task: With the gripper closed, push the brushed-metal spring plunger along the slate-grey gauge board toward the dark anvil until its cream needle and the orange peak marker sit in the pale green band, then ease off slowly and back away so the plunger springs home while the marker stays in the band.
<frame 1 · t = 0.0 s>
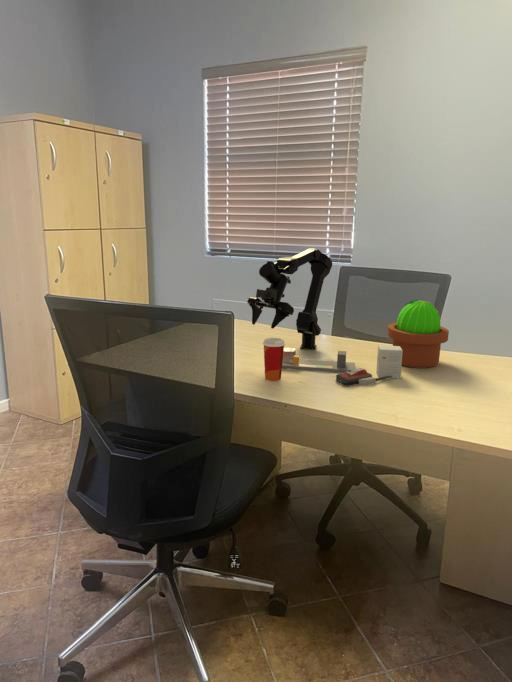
hand: (262, 326, 196), 15 cm above the table, tool tilted 35°, fingers open, 9 cm apart
peak marker: (296, 360, 194), point 3 cm above the table, slide at 0.0 cm
small box: (388, 376, 189), on the table
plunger: (287, 356, 197), point 4 cm above the table, slide at 0.0 cm
paper cup: (272, 379, 184), on the table
potted cactus: (414, 362, 206), on the table
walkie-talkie: (362, 382, 183), on the table
gauge board: (314, 366, 198), on the table
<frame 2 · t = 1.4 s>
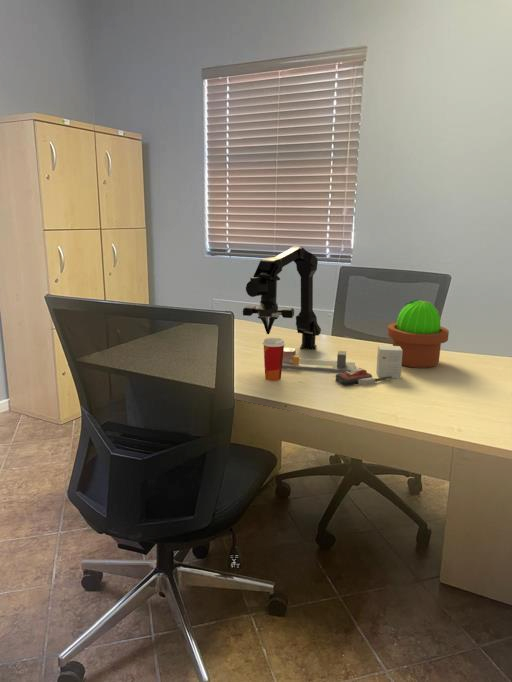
hand: (268, 334, 198), 12 cm above the table, tool pointing down, fingers closed
nothing on the table moved.
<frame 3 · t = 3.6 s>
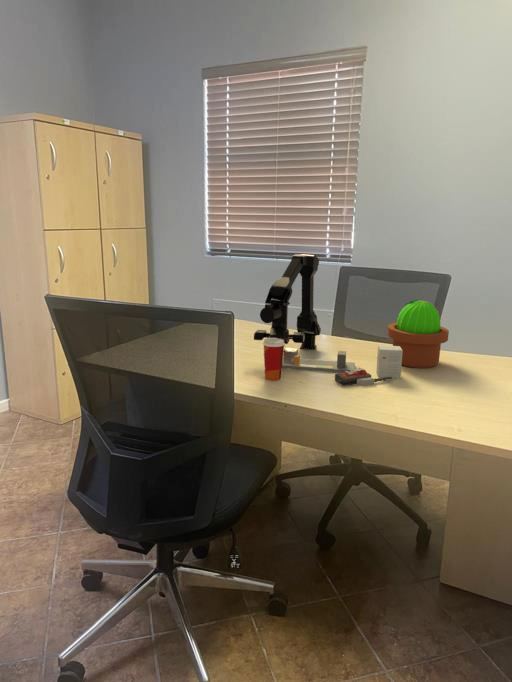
hand: (278, 357, 200), 2 cm above the table, tool pointing down, fingers closed
peak marker: (297, 360, 194), point 3 cm above the table, slide at 0.3 cm, touching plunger
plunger: (290, 356, 197), point 4 cm above the table, slide at 0.8 cm, touching gripper, peak marker
everything else where it was.
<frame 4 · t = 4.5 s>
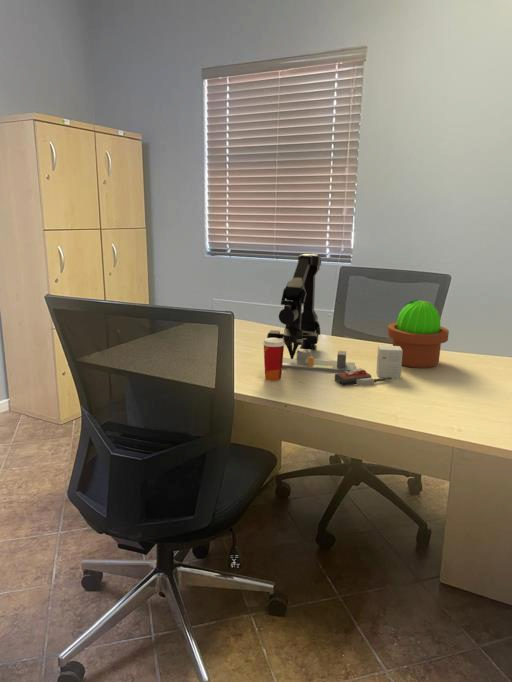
hand: (292, 358, 199), 2 cm above the table, tool pointing down, fingers closed
peak marker: (310, 361, 193), point 3 cm above the table, slide at 5.4 cm, touching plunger
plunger: (303, 357, 196), point 4 cm above the table, slide at 5.9 cm, touching gripper, peak marker
everything else where it was.
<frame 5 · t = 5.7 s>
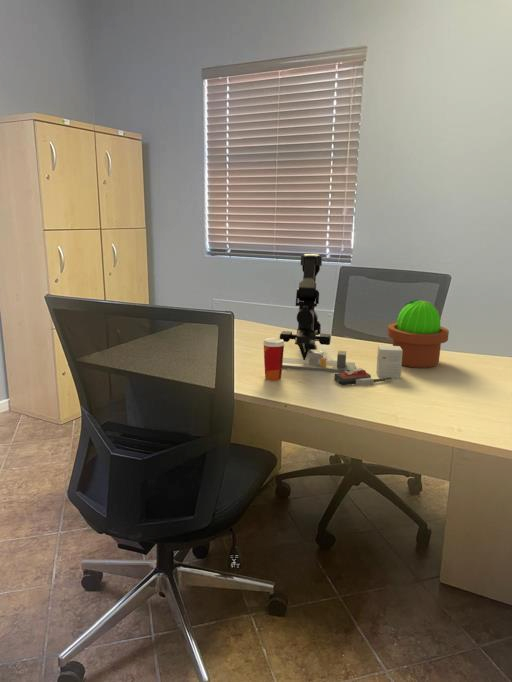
hand: (304, 359, 198), 2 cm above the table, tool pointing down, fingers closed
peak marker: (323, 361, 192), point 3 cm above the table, slide at 10.1 cm, touching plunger
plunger: (315, 358, 195), point 4 cm above the table, slide at 10.6 cm, touching gripper, peak marker
everything else where it was.
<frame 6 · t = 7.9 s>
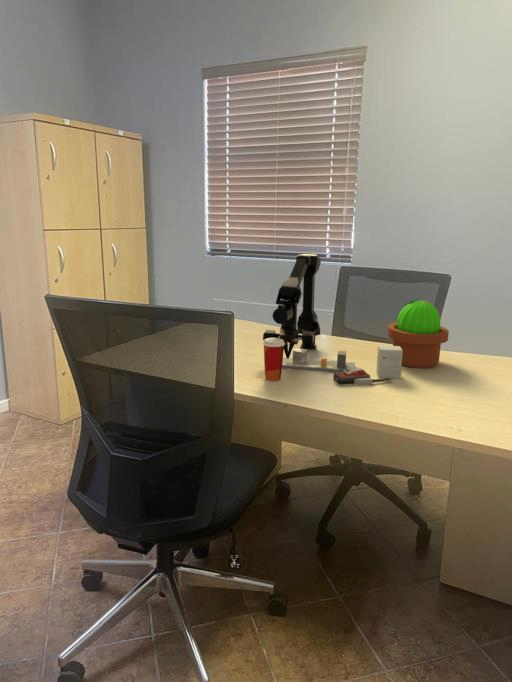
hand: (287, 358, 199), 3 cm above the table, tool pointing down, fingers closed
peak marker: (323, 362, 192), point 3 cm above the table, slide at 10.2 cm
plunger: (299, 357, 196), point 4 cm above the table, slide at 4.3 cm, touching gripper
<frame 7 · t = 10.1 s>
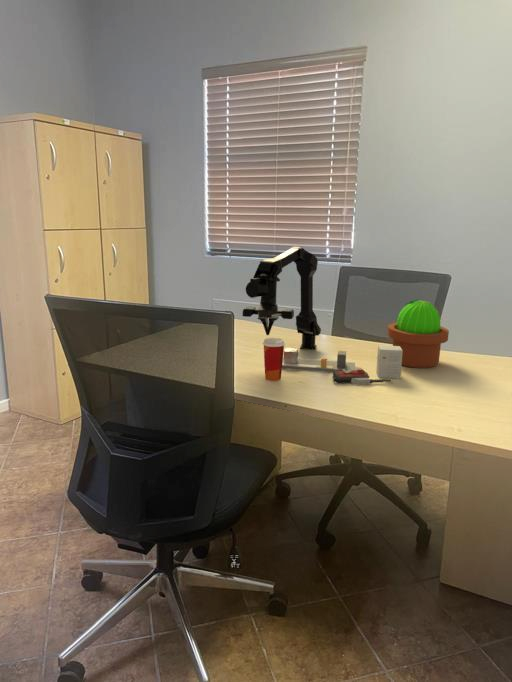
hand: (267, 335, 198), 11 cm above the table, tool pointing down, fingers closed
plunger: (290, 356, 197), point 4 cm above the table, slide at 0.9 cm
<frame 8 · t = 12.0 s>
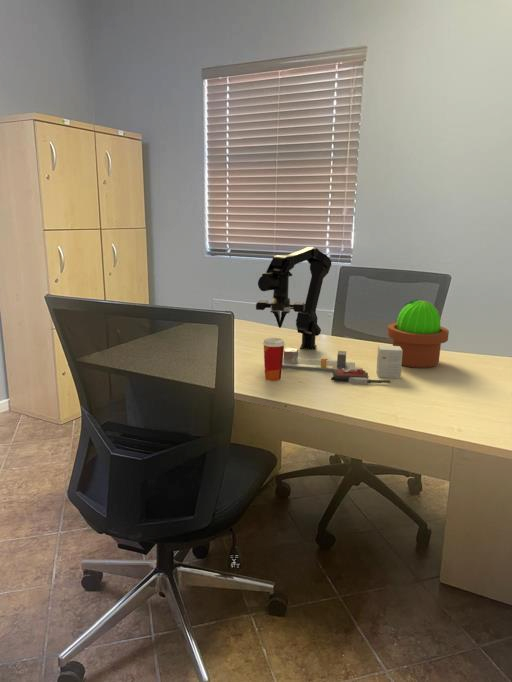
hand: (280, 327, 207), 12 cm above the table, tool pointing down, fingers closed
at the end: peak marker slide at 10.2 cm; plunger slide at 0.9 cm; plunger touching nothing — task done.
